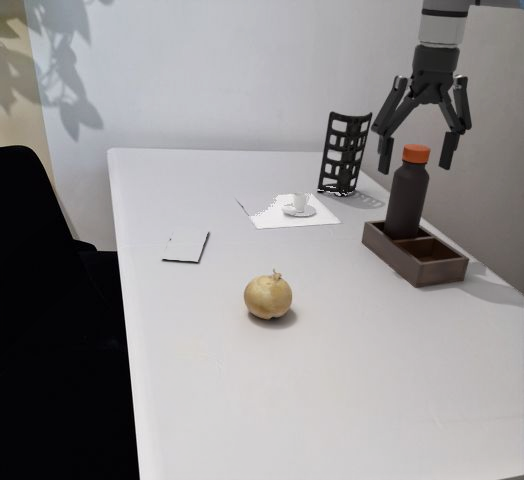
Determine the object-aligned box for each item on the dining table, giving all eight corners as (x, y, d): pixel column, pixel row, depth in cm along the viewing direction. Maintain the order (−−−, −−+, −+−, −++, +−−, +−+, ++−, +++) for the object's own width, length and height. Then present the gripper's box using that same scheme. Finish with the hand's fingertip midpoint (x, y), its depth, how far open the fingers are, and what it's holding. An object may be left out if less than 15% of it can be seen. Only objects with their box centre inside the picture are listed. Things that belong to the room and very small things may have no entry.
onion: (287, 328, 90) (291, 289, 86) (238, 321, 91) (240, 282, 87) (293, 303, 97) (297, 266, 93) (247, 298, 98) (249, 260, 94)
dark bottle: (415, 243, 119) (436, 145, 108) (412, 256, 113) (434, 154, 102) (383, 237, 120) (401, 140, 109) (378, 250, 115) (396, 149, 104)
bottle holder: (404, 237, 123) (409, 217, 121) (463, 280, 107) (469, 258, 105) (361, 242, 120) (364, 221, 117) (415, 287, 104) (420, 265, 101)
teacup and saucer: (284, 219, 128) (286, 201, 126) (274, 206, 134) (275, 189, 132) (320, 216, 130) (322, 199, 128) (308, 204, 137) (310, 187, 134)
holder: (347, 183, 150) (362, 105, 137) (363, 195, 145) (380, 116, 132) (312, 188, 146) (324, 108, 133) (327, 201, 141) (341, 119, 128)
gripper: (484, 42, 103) (456, 160, 115) (362, 41, 95) (346, 168, 107) (512, 47, 97) (480, 171, 109) (385, 47, 89) (366, 181, 101)
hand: (413, 170), depth 108 cm, fingers open, 13 cm apart
